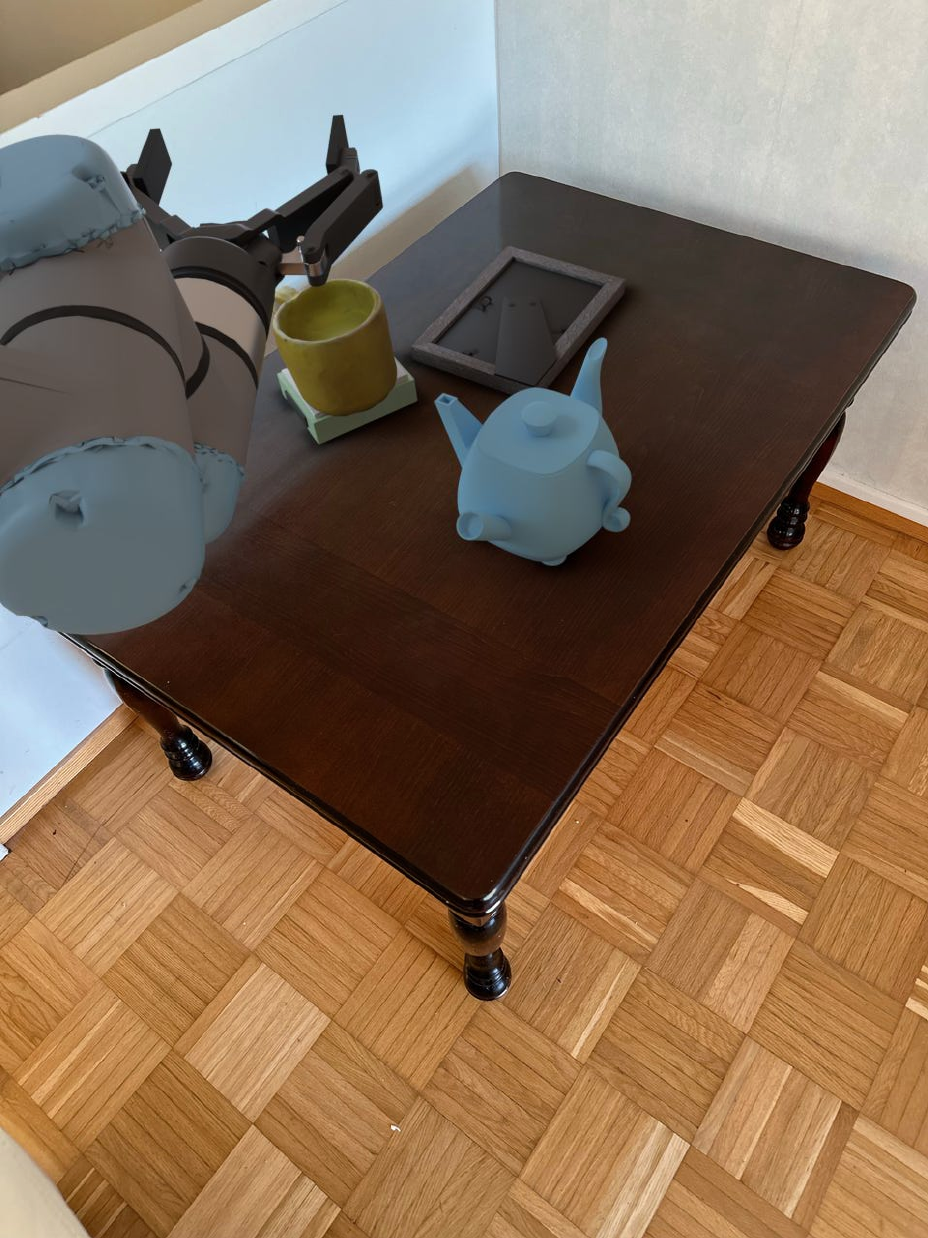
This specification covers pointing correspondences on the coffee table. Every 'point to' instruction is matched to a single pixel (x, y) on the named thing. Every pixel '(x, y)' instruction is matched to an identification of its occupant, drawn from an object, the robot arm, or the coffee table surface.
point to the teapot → (539, 468)
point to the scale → (334, 426)
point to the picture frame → (519, 321)
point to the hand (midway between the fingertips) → (250, 139)
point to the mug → (336, 345)
